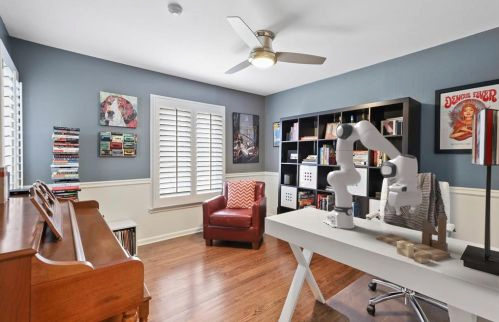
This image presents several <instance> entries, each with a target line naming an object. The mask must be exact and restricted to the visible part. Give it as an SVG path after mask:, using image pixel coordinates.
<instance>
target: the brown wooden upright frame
mask: <svg viewBox="0 0 499 322" xmlns="http://www.w3.org/2000/svg"><path fill="white" fill-rule="evenodd" d="M447 218H448V217H447V215H444V214H438V216H437V230H436V229H435V227H434V226H433V225H432V224H431V222H429V221H428V220H427V218H422V220H421V221H422V222H421V224H422V225H421V244H424V245H427V246H430V247H433V248H436V249H439V250H442V251H445V252H447V250H448V246H449V245H448V242H447V227H448V226H447V225H448V224H447V223H448V222H447V220H448V219H447ZM433 236H437V240H436V239H433Z"/></svg>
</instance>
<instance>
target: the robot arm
mask: <svg viewBox="0 0 499 322" xmlns="http://www.w3.org/2000/svg"><path fill="white" fill-rule="evenodd" d="M335 132H336V137H337V140H336V147H335V148H336V149H335V161H336V163H337V164H338V165H339V166H340V168H341V170H333V171H330V172H329V173H328V174H327V177H326V181H327V183H328V184H329V185H330V186H331V188H332V189H333V191H334V195H335V196H334V198H335V199H334V200H335V204H334V205H332V208H333V210H331V211H329V212H328V213H327V215H326V218H325V219H324V220H323V221H322V222H323V223H324V222H325V223H324V224H326V223H327V225H328V224H329V225H328V226H330V227H332V228H335V227H336V228H337V229H338V228H339V229H354V228H355V222H354V221H355V220H354V214H353V212H354V206H353V194H352V193H351V192H350V191H349V190H348V186H350V187H351V186H355V185H358V184H360V182H361V181H362V175H361V174H360V173H361V172H359V171H358V170H357V169H356V166H355V163H354V143H355V142H361V144H362V145H363V146H364V147H365V148H366V149H368V150H372V151H375V152H379V153H383V154H385V156H388V158H389V159H390V160H385V161H384V162H382V163H381V166H380V173H381V175H382V176H383V177H384V178H386V179H396V180H395V182H394V183H392V184H391V185H389V186H388V192H389V193H388V199H387V201H388V205H389V206H390V207H392V208H393V207H394V210H395V214H396V215H397V216H401V215H402V211H401V207H406V206H407V207H408V206H410V209H409V210H408V212H409V214H415V213H416V211H415V210H416V209H417V207H418V206H419V205H422V204H423V191H422V189H421V187H420V186H419V185H418V179H417V175H418V172H419V170H418V169H419V167H418V166H419V165H418V160H417V157H416V156H415V155H412V154H403V153H402V152H401V151H400V149H398V148H397V146H395V145H394V144H393V142H391V141H389V140H388V139H387V138H386V137H385V136H383V134H382V133H380V131H379V130H378V129H377V127H375V125H374V124H373V123H371V121H369V120H361V121H359V122H351V123H350V122H349V123H346V122H344V123H340V124H339V125H338V126H337V128H336V131H335ZM417 205H418V206H417Z"/></svg>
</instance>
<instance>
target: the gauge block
mask: <svg viewBox="0 0 499 322" xmlns="http://www.w3.org/2000/svg"><path fill="white" fill-rule="evenodd" d="M396 254H398V255H401V256H403V257H405V258H407V259H409V258H414V244H411V243H408V242H405V241H397V247H396Z"/></svg>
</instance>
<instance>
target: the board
mask: <svg viewBox="0 0 499 322" xmlns="http://www.w3.org/2000/svg"><path fill="white" fill-rule="evenodd" d="M376 240H378V241H380V242H383V243H385V244H388V245H392V246H394V247H396V248H397V241H405V242H408V243H411V244H414V253H415V252H419V251H425V252H428V253H429V260H431V261H434V262H436V261H440V260H444V259H448V258H451V254H452V253H450V252H447V251H442V250H439V249H436V248H433V247H431V246H427V245H424V244H422V242H418V241H415V240H412V239H409V238H406V237H402V236H399V235H396V234H394V233H386V234H382V235H376Z"/></svg>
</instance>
